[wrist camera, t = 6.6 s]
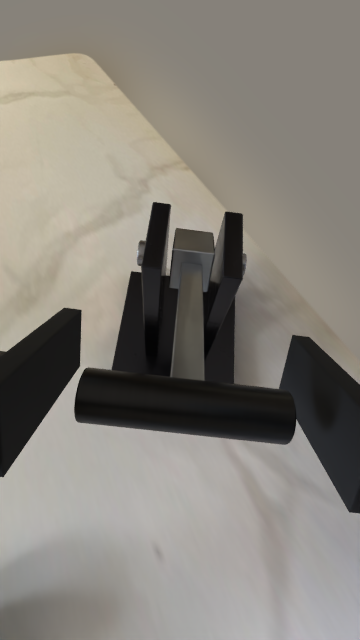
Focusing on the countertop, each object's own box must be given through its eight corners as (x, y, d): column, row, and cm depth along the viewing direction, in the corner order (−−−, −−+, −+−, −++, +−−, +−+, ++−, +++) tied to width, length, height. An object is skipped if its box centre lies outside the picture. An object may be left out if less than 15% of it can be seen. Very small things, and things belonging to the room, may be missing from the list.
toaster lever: (279, 460, 10) (306, 417, 9) (77, 439, 10) (69, 391, 8) (240, 272, 20) (249, 237, 18) (137, 259, 20) (138, 222, 18)
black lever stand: (229, 414, 26) (299, 358, 14) (108, 401, 26) (68, 331, 13) (231, 292, 31) (283, 172, 19) (132, 279, 31) (119, 150, 19)
